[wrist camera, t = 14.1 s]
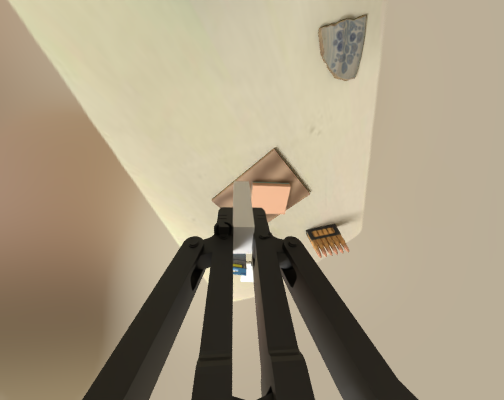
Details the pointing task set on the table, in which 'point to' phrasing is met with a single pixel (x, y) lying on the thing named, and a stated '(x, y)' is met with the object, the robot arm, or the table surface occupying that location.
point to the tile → (270, 196)
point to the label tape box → (239, 264)
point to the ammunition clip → (326, 239)
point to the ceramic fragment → (343, 46)
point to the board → (266, 171)
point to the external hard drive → (248, 273)
